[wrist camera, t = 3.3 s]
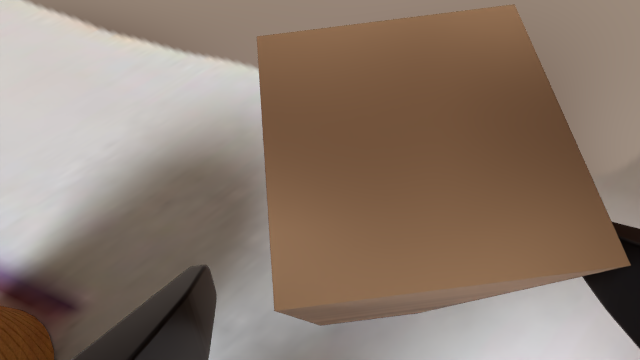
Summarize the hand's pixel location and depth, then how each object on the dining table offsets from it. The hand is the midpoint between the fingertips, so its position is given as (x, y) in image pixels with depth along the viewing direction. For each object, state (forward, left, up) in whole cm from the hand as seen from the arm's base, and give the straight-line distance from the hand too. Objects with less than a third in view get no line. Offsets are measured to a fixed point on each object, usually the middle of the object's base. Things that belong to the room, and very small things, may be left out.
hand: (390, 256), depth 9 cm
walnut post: (+1, -1, -9) cm, 9 cm away
